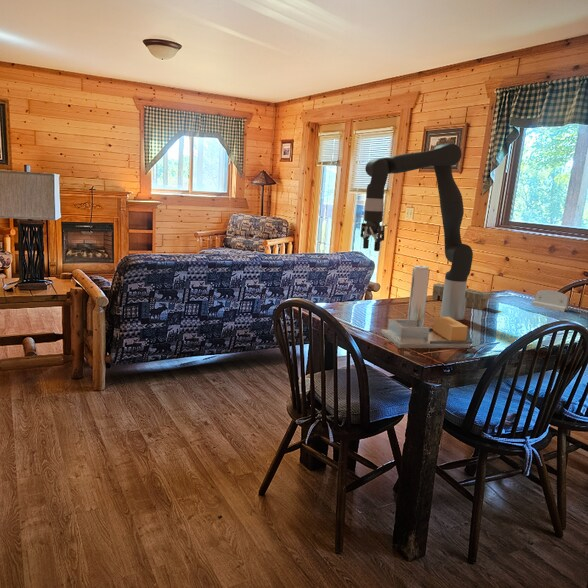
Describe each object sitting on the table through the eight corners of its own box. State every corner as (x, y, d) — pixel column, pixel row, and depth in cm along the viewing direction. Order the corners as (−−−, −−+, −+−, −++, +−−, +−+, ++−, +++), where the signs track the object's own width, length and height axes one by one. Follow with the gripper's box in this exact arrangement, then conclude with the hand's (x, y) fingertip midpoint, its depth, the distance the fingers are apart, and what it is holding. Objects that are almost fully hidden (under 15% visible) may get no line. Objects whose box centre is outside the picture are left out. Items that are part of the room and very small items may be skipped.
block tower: (429, 300, 263) (482, 310, 243) (430, 284, 262) (484, 293, 241) (437, 298, 269) (489, 308, 248) (438, 283, 267) (491, 291, 246)
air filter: (423, 329, 200) (430, 268, 195) (406, 328, 201) (413, 266, 196) (422, 325, 206) (429, 265, 201) (406, 324, 207) (413, 264, 202)
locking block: (447, 330, 194) (448, 316, 193) (465, 341, 181) (467, 326, 180) (432, 330, 193) (434, 316, 192) (450, 341, 180) (452, 326, 179)
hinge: (530, 305, 262) (536, 286, 262) (533, 307, 265) (539, 289, 265) (564, 311, 250) (570, 292, 250) (567, 313, 253) (572, 295, 253)
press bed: (448, 333, 197) (450, 317, 196) (472, 347, 180) (474, 330, 178) (380, 333, 191) (382, 316, 190) (399, 348, 174) (401, 330, 173)
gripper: (391, 211, 198) (388, 251, 201) (372, 209, 210) (369, 247, 214) (375, 210, 195) (372, 252, 198) (356, 208, 208) (354, 247, 211)
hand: (371, 249), depth 206 cm, fingers open, 8 cm apart
